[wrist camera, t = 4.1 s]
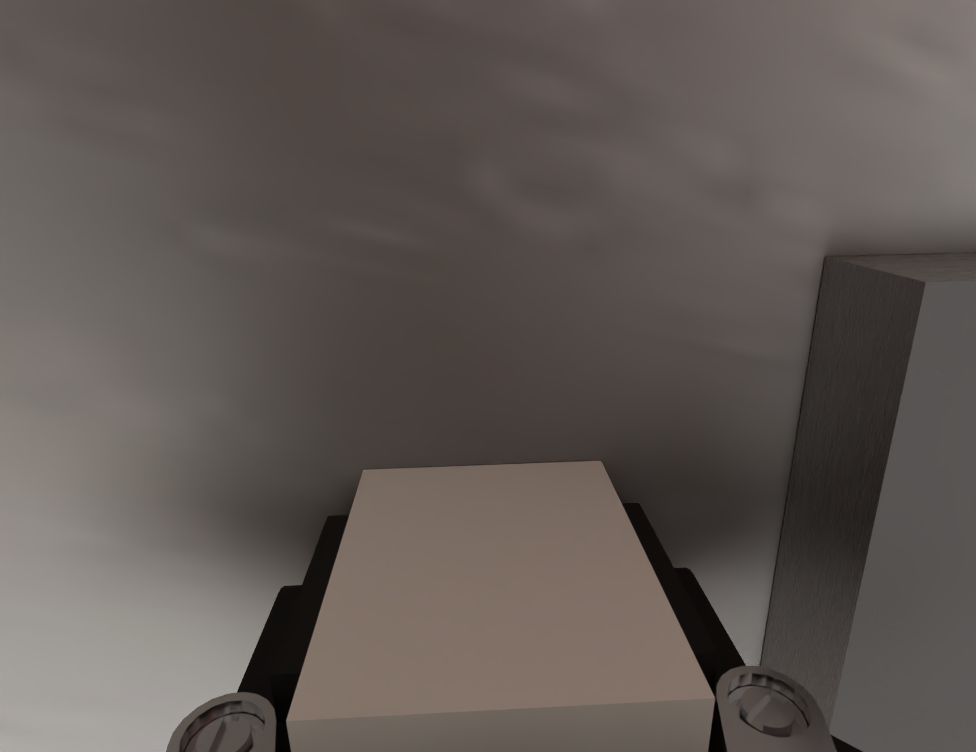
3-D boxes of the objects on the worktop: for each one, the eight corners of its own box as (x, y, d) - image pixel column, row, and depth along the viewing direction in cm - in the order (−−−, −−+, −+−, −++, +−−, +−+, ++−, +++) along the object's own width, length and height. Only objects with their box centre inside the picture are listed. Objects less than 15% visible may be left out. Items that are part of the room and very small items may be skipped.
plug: (363, 469, 12) (212, 957, 4) (601, 460, 12) (819, 916, 5) (381, 659, 13) (290, 1252, 6) (592, 649, 13) (747, 1212, 6)
